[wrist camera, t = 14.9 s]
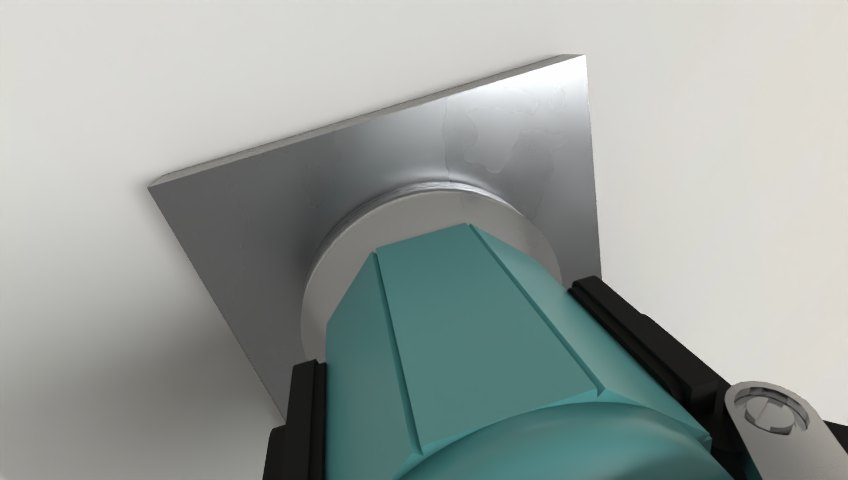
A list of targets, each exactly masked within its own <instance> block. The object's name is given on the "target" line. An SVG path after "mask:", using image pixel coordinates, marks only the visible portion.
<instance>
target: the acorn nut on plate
mask: <svg viewBox="0 0 848 480" xmlns="http://www.w3.org/2000/svg"><path fill="white" fill-rule="evenodd" d="M147 188H148V190H149V192H150V193H151V195H152V197H153V198H154V200H155V202H156V204H157V205H158V207H159V209H160V210H161V212H162V214H163V215H164V217H165V219H166V220H167V222H168V224H169V225H170V227H171V229H172V231H173V232H174V234H175V236H176V237H177V239H178V241H179V242H180V244H181V246H182V247H183V249H184V251H185V252H186V254H187V256H188V258H189V259H190V261H191V263H192V264H193V266H194V268H195V269H196V271H197V273H198V274H199V276H200V278H201V279H202V281H203V283H204V284H205V286H206V288H207V290H208V291H209V293H210V295H211V296H212V298H213V300H214V301H215V303H216V305H217V306H218V308H219V310H220V311H221V313H222V315H223V317H224V318H225V320H226V322H227V323H228V325H229V327H230V328H231V330H232V332H233V333H234V335H235V337H236V338H237V340H238V342H239V344H240V345H241V347H242V349H243V350H244V352H245V354H246V355H247V357H248V359H249V360H250V362H251V364H252V365H253V367H254V369H255V371H256V372H257V374H258V376H259V377H260V379H261V381H262V382H263V384H264V386H265V387H266V389H267V391H268V392H269V394H270V396H271V397H272V399H273V401H274V403H275V404H276V406H277V408H278V409H279V411H280V413H281V414H282V416H283V418H284V419H285V421H286V417H287V409H288V401H289V393H290V385H291V376H292V369H293V366H294V365H297V364H300V363H303V362H307V361H310V360H313V359H317V361H318V362H319V364H320V363H323V362H326V328H327V322H328V321H329V319H330V317H331V316H332V314H333V313H334V311H335V309H336V308H337V306H338V304H339V303H340V301H341V300H342V298H343V296H344V295H345V293H346V292H347V290H348V288H349V287H350V285H351V283H352V282H353V280H354V279H355V277H356V275H357V274H358V272H359V271H360V269H361V267H362V266H363V264H364V262H365V261H366V259H367V258H368V256H369V254H370V253H371V251H372V252H374V253H376V254H377V252H376V248H378V247H381V246H385V245H388V244H392V243H396V242H399V241H403V240H406V239H410V238H413V237H417V236H420V235H424V234H427V233H431V232H434V231H438V230H441V229H445V228H448V227H452V226H455V225H459V224H462V223H466V224H467V225H468V226H469V225H470V223H471V224H473V225H475V226H477V227H478V228H480V229H482V230H484V231H486V232H487V233H489V234H491V235H493V236H494V237H496V238H498V239H500V240H502V241H503V242H505V243H507V244H509V245H510V246H512V247H514V248H516V249H518V250H519V251H521V252H523V253H525V254H526V255H528V256H530V257H532V258H534V259H535V260H537V261H538V262H539V263H540V264H541V265H542V266H543V267H544V268H545V269H546V270H547V271H548V272H549V273H550V274H551V275H552V276H553V277H554V278H555V279H556V280H557V281H558V282H559V283H560V284H561V285H562V286H563V287H564V288H565V289H566V290H568V289H569V288H571V287H572V283H573V281H576V280H579V279H582V278H585V277H589V276H592V275H595V276H597V277H598V278H599V279H601V280H602V276H601V262H600V248H599V235H598V221H597V207H596V193H595V180H594V166H593V152H592V138H591V124H590V111H589V97H588V83H587V69H586V56H585V55H573V54H563V55H560V56H556V57H553V58H550V59H547V60H543V61H540V62H537V63H533V64H530V65H527V66H523V67H520V68H517V69H513V70H510V71H507V72H504V73H500V74H497V75H494V76H490V77H487V78H484V79H480V80H477V81H474V82H470V83H467V84H464V85H461V86H457V87H454V88H451V89H447V90H444V91H441V92H437V93H434V94H431V95H427V96H424V97H421V98H418V99H414V100H411V101H408V102H404V103H401V104H398V105H394V106H391V107H388V108H384V109H381V110H378V111H375V112H371V113H368V114H365V115H361V116H358V117H355V118H351V119H348V120H345V121H341V122H338V123H335V124H331V125H328V126H325V127H322V128H318V129H315V130H312V131H308V132H305V133H302V134H298V135H295V136H292V137H288V138H285V139H282V140H279V141H275V142H272V143H269V144H265V145H262V146H259V147H255V148H252V149H249V150H245V151H242V152H239V153H236V154H232V155H229V156H226V157H222V158H219V159H216V160H212V161H209V162H206V163H202V164H199V165H196V166H193V167H189V168H186V169H183V170H179V171H176V172H173V173H169V174H166V175H164V176H162V177H161V178H159V179H158V180H157V181H155V182H154V183H153V184H151V185H150V186H149V187H147Z"/></svg>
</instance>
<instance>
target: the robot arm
mask: <svg viewBox="0 0 848 480" xmlns="http://www.w3.org/2000/svg"><path fill="white" fill-rule="evenodd" d="M567 291H568V292H569V293H570V294H571V295H572V296H573V297H574V298H575V299H576V300H577V301H578V302H579V303H580V304H581V305H582V306H583V307H584V308H585V309H586V310H587V311H588V312H589V313H590V314H591V315H592V316H593V317H594V318H595V319H596V320H597V321H598V322H599V323H600V325H601V326H602V327H603V328H604V329H605V330H606V331H607V332H608V333H609V334H610V335H611V336H612V337H613V338H614V339H615V340H616V341H617V342H618V343H619V344H620V345H621V346H622V347H623V348H624V349H625V350H626V351H627V352H628V353H629V354H630V355H631V356H632V357H633V358H634V359H635V360H636V361H637V362H638V363H639V364H640V365H641V366H642V367H643V368H644V369H645V370H646V371H647V372H648V373H649V374H650V375H651V376H652V377H653V378H654V379H655V380H656V381H657V382H658V383H659V384H660V385H661V386H662V387H663V388H664V389H665V390H666V391H667V392H668V393H669V394H670V395H671V396H672V397H673V398H674V399H675V400H676V401H677V402H678V403H679V404H680V405H681V406H682V407H683V408H684V409H685V410H686V411H687V412H688V413H689V414H690V415H691V416H692V417H693V418H694V419H695V420H696V421H697V422H698V423H699V424H700V425H701V426H702V427H703V428H704V429H705V430H706V431H707V432H708V433H709V434H710V435H709V436H710V437H711V438H712V443H711V450H710V454H711V455H712V457H713V458H714V459H715V460H716V461H717V462H718V463H719V464H720V465H721V466H722V467H723V468H724V469H725V470H726V471H727V472H728V473H729V475H730V476H731V477H732V478H733V479H734V480H848V426H844V425H840V424H836V423H832V422H828V421H824V420H822V419H821V417H820V416H819V414H818V413H817V412H816V410H815V409H814V408H813V407H812V406H811V405H810V404H809V403H808V402H807V401H806V400H804V399H803V398H801V397H800V396H798V395H797V394H796V393H794V392H792V391H790V390H787V389H785V388H783V387H781V386H777V385H774V384H770V383H767V382H757V381H748V382H740V383H738V384H735V385H733V386H731V385H730V384H729V383H728V382H727V381H725V380H724V379H723V378H722V377H721V376H719V375H718V374H717V373H716V372H715V371H713V370H712V369H711V368H710V367H709V366H707V365H706V364H705V363H704V362H703V361H701V360H700V359H699V358H698V357H697V356H695V355H694V354H693V353H692V352H691V351H689V350H688V349H687V348H686V347H685V346H683V345H682V344H681V343H680V342H679V341H677V340H676V339H675V338H674V337H673V336H671V335H670V334H669V333H668V332H667V331H665V330H664V329H663V328H662V327H661V326H659V325H658V324H657V323H656V322H655V321H653V320H652V319H651V318H650V317H648V316H647V315H645V314H641V313H640V312H638V311H637V310H636V309H635V308H634V307H633V306H631V305H630V304H629V303H628V302H627V301H625V300H624V299H623V298H622V297H621V296H620V295H618V294H617V293H616V292H615V291H614V290H612V289H611V288H610V287H609V286H608V285H607V284H605V283H604V282H603V281H602V280H601V279H599V278H598V277H597V276H595V275H592V276H589V277H585V278H582V279H579V280H576V281H573V283H572V287H571V288H569V289H568V290H567ZM326 383H327V364H326V362H323V363H320V364H319V362H318V361H317V359H313V360H310V361H307V362H303V363H300V364H297V365H294V366H293V369H292V376H291V385H290V393H289V401H288V409H287V417H286V425H283V426H280V427H277V428H273V429H272V431H271V433H270V437H269V442H268V448H267V455H266V461H265V467H264V473H263V480H325V451H326Z"/></svg>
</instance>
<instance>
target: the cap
mask: <svg viewBox="0 0 848 480" xmlns="http://www.w3.org/2000/svg"><path fill="white" fill-rule="evenodd" d="M376 252H377V254H376V253H374V252H372V251H371V253H370V254H369V256H368V258H367V259H366V261H365V262H364V264H363V266H362V267H361V269H360V271H359V272H358V274H357V275H356V277H355V279H354V280H353V282H352V283H351V285H350V287H349V288H348V290H347V292H346V293H345V295H344V296H343V298H342V300H341V301H340V303H339V304H338V306H337V308H336V309H335V311H334V313H333V314H332V316H331V317H330V319H329V321H328V322H327V328H326V364H327V383H326V451H325V480H734V479H733V478H732V477H731V476H730V475H729V473H728V472H727V471H726V470H725V469H724V468H723V467H722V466H721V465H720V464H719V463H718V462H717V461H716V460H715V459H714V458H713V457H712V455H711V454H710V450H711V443H712V438H711V437H710V436H709V435H710V434H709V433H708V432H707V431H706V430H705V429H704V428H703V427H702V426H701V425H700V424H699V423H698V422H697V421H696V420H695V419H694V418H693V417H692V416H691V415H690V414H689V413H688V412H687V411H686V410H685V409H684V408H683V407H682V406H681V405H680V404H679V403H678V402H677V401H676V400H675V399H674V398H673V397H672V396H671V395H670V394H669V393H668V392H667V391H666V390H665V389H664V388H663V387H662V386H661V385H660V384H659V383H658V382H657V381H656V380H655V379H654V378H653V377H652V376H651V375H650V374H649V373H648V372H647V371H646V370H645V369H644V368H643V367H642V366H641V365H640V364H639V363H638V362H637V361H636V360H635V359H634V358H633V357H632V356H631V355H630V354H629V353H628V352H627V351H626V350H625V349H624V348H623V347H622V346H621V345H620V344H619V343H618V342H617V341H616V340H615V339H614V338H613V337H612V336H611V335H610V334H609V333H608V332H607V331H606V330H605V329H604V328H603V327H602V326H601V325H600V323H599V322H598V321H597V320H596V319H595V318H594V317H593V316H592V315H591V314H590V313H589V312H588V311H587V310H586V309H585V308H584V307H583V306H582V305H581V304H580V303H579V302H578V301H577V300H576V299H575V298H574V297H573V296H572V295H571V294H570V293H569V292H568V291H567V290H566V289H565V288H564V287H563V286H562V285H561V284H560V283H559V282H558V281H557V280H556V279H555V278H554V277H553V276H552V275H551V274H550V273H549V272H548V271H547V270H546V269H545V268H544V267H543V266H542V265H541V264H540V263H539V262H538V261H537V260H535V259H534V258H532V257H530V256H528V255H526V254H525V253H523V252H521V251H519V250H518V249H516V248H514V247H512V246H510V245H509V244H507V243H505V242H503V241H502V240H500V239H498V238H496V237H494V236H493V235H491V234H489V233H487V232H486V231H484V230H482V229H480V228H478V227H477V226H475V225H473V224H471V223H470V225H469V226H468V225H467V224H466V223H462V224H459V225H455V226H452V227H448V228H445V229H441V230H438V231H434V232H431V233H427V234H424V235H420V236H417V237H413V238H410V239H406V240H403V241H399V242H396V243H392V244H388V245H385V246H381V247H378V248H376Z"/></svg>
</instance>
